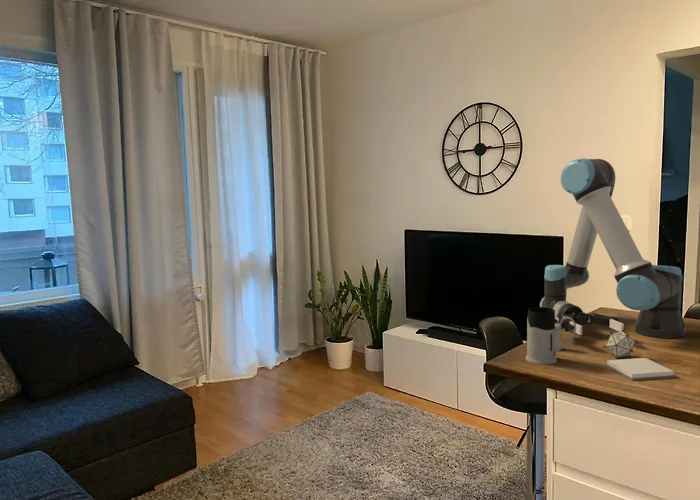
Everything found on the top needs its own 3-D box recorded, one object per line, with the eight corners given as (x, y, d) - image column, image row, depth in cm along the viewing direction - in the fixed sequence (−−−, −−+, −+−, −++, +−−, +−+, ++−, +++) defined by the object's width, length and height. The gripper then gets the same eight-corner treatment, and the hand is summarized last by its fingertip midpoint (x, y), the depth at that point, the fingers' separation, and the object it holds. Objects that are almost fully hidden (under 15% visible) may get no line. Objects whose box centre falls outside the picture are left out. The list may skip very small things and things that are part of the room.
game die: (626, 371, 160) (644, 350, 153) (597, 360, 161) (614, 339, 154) (625, 349, 166) (642, 328, 160) (597, 338, 167) (613, 317, 161)
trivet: (645, 362, 155) (645, 357, 155) (674, 377, 143) (674, 371, 143) (605, 365, 154) (605, 360, 154) (631, 380, 142) (631, 374, 142)
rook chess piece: (545, 347, 173) (545, 322, 172) (559, 346, 174) (559, 321, 173) (551, 351, 169) (551, 326, 168) (565, 350, 169) (565, 325, 168)
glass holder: (532, 353, 167) (532, 305, 166) (580, 361, 159) (580, 310, 157) (520, 360, 161) (521, 311, 159) (570, 369, 152) (571, 317, 150)
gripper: (601, 322, 192) (639, 338, 171) (533, 326, 190) (563, 343, 169) (602, 301, 191) (640, 315, 170) (533, 305, 189) (563, 319, 168)
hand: (602, 329), depth 169 cm, fingers open, 13 cm apart
